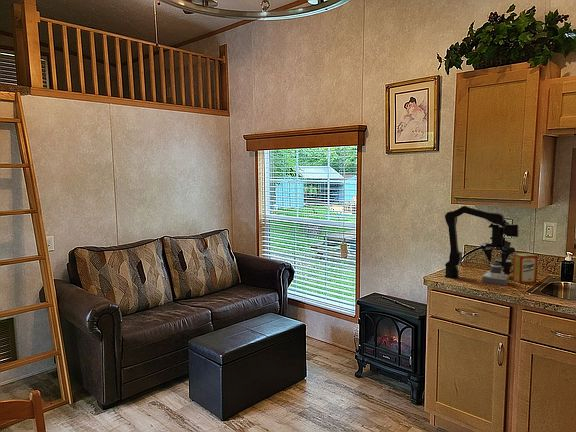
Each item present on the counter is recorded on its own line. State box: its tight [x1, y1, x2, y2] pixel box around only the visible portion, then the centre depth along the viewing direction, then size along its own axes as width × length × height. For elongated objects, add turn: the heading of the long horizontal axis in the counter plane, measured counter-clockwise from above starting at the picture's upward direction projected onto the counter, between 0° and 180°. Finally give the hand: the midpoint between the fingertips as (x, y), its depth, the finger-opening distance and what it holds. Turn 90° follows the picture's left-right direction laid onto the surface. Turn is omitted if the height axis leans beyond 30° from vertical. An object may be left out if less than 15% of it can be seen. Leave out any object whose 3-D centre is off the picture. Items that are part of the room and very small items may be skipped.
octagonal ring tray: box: [481, 270, 510, 286], centre depth 234 cm, size 12×9×6 cm
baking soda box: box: [512, 253, 539, 284], centre depth 234 cm, size 10×6×16 cm
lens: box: [490, 261, 501, 273], centre depth 234 cm, size 5×5×7 cm
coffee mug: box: [494, 258, 514, 276], centre depth 245 cm, size 12×9×10 cm
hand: (496, 263), depth 233 cm, fingers open, 9 cm apart
